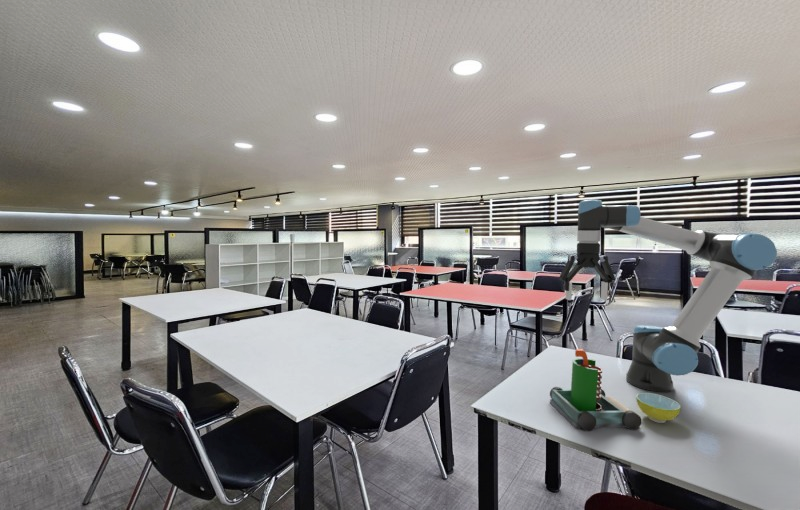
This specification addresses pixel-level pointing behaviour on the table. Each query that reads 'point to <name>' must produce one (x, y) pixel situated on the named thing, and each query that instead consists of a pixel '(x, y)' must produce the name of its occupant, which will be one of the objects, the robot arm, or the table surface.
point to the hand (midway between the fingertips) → (586, 299)
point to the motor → (585, 383)
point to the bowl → (658, 407)
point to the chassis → (594, 412)
